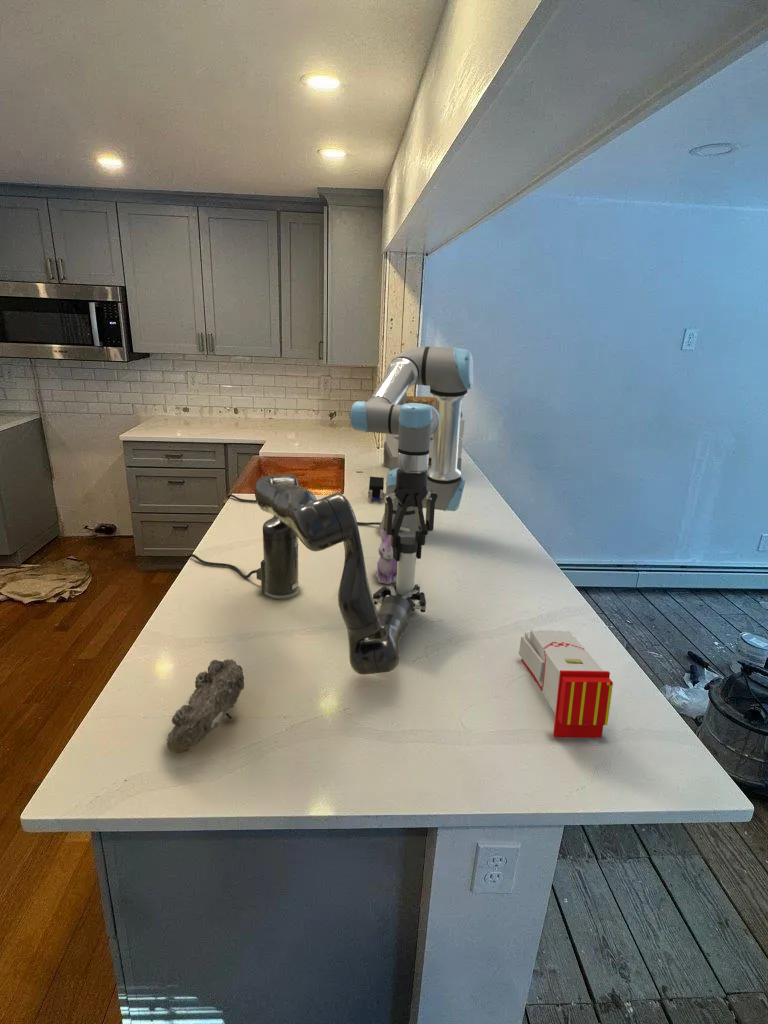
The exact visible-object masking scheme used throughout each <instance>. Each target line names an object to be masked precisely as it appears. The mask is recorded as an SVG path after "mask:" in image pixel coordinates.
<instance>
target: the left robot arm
mask: <svg viewBox="0 0 768 1024" xmlns="http://www.w3.org/2000/svg"><path fill="white" fill-rule="evenodd" d="M254 497H255V500H256V501H257V502H256V503H257V505H258V508H259V509H260V510H261V511H263V512H265V513H269V514H270V515H272V516H273V517H274V516H275V517H274V518H273V517H271V518H270V519H268V520H266V521H264V523H263V524H262V549H263V551H262V552H263V559H262V560H261V561H260V567H259V568H257V569H253V570H251V571H250V572H249V573H248V574H246V575H245V574H244V573H243V572H242V571H241V570H240V569H239V568H238V567H237V566H235V565H232V564H230V563H225V562H223V563H222V562H211V561H206V560H203V559H201V558H200V557H199V556H197V555H196V554H194V553H191V554H189V555H188V556H187V559H190V558H194V559H196V561H198V562H199V563H201V564H204V565H207V566H215V567H218V566H219V567H226V568H231V569H233V570H234V571H236V572H237V573H238V575H240V576H241V578H244V579H249V578H250V577H251V576H252V575H253V574H256V580H258V581H260V585H261V586H260V587H261V594H262V595H265V596H266V597H267V598H270V599H274V600H286V599H291V598H294V597H295V596H297V595H298V594H299V592H300V587H299V585H300V583H299V541H300V543H302V544H303V546H304V547H305V548H307V550H310V551H311V552H314V553H315V552H322V551H325V550H327V549H329V548H332V547H333V546H336V545H339V544H341V543H343V548H344V562H343V569H342V573H341V577H340V582H339V587H338V591H337V600H338V602H337V603H338V608H339V611H340V614H341V617H342V619H343V623H344V625H345V629H346V630H347V640H348V659H349V665H350V667H351V669H352V671H354V672H355V673H356V674H357V675H374V674H375V675H376V674H385V673H390V672H393V671H394V670H395V669H397V668H398V666H399V664H400V657H401V656H400V649H399V646H400V645H399V643H400V640H401V637H402V634H403V633H404V631H405V630H406V628H407V626H408V624H409V623H408V622H409V620H410V618H411V615H412V614H413V612H414V611H415V610H419V611H420V612H421V613H426V611H427V609H426V608H427V600H426V595H425V592H423V591H421V586H419V584H417V583H416V584H415V583H414V589H413V591H412V592H409V593H407V594H406V595H400V594H396V582H392V583H391V586H389V587H387V586H382V587H380V588H379V589H378V590H376V591H375V593H373V594H372V591H371V588H370V584H369V577H368V572H367V568H366V561H365V555H364V551H363V545H362V540H361V539H362V538H361V534H360V530H359V524H357V522H358V521H357V518H356V517H357V516H356V514H355V511H354V509H353V507H352V505H351V503H350V502H349V500H348V499H347V497H346V496H345V495H343V494H342V493H340V492H335V493H332V494H329V495H327V496H324V497H321V498H320V499H319V498H318V499H317V497H316V496H315V494H314V493H313V492H312V491H310V490H309V489H307V488H305V487H303V486H301V485H300V484H299V480H298V478H297V477H296V476H295V475H294V474H292V473H289V474H273V475H263V476H261V477H259V478H258V479H257V480H256V483H255V486H254ZM378 604H380V606H379V608H378V610H377V605H378Z"/></svg>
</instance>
